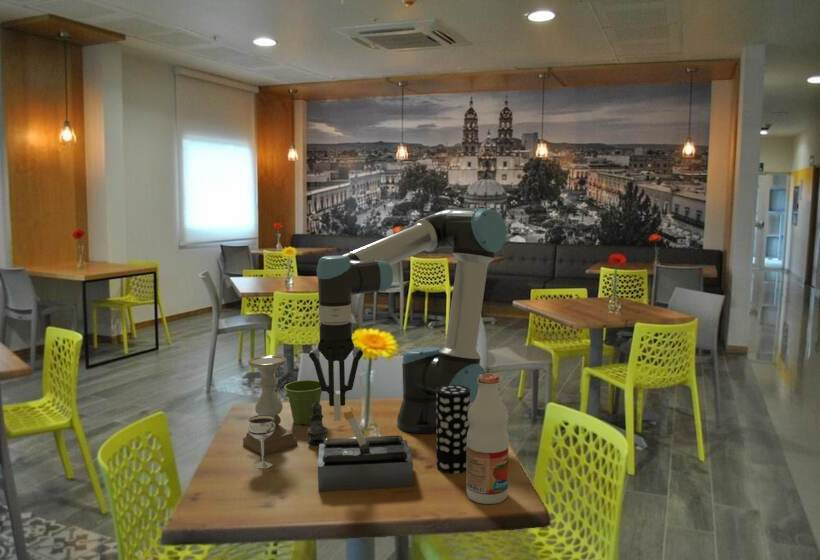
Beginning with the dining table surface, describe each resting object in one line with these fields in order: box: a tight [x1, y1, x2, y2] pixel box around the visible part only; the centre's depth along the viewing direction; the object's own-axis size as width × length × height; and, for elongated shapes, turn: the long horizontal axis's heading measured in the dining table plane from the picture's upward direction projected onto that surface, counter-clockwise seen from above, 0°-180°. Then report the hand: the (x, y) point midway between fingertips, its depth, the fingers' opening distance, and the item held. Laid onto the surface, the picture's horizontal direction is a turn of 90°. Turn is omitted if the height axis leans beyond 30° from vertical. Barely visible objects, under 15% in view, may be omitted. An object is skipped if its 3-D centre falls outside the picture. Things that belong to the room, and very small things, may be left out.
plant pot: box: [283, 379, 323, 426], centre depth 200 cm, size 12×12×11 cm
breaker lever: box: [342, 405, 370, 454], centre depth 160 cm, size 2×4×11 cm, turn 5°
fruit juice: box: [465, 373, 510, 505], centre depth 150 cm, size 9×9×28 cm
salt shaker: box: [306, 400, 329, 447], centre depth 184 cm, size 6×6×12 cm
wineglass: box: [247, 414, 275, 470], centre depth 169 cm, size 7×7×12 cm
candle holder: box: [242, 355, 298, 456], centre depth 181 cm, size 11×11×24 cm
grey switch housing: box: [317, 435, 414, 492], centre depth 162 cm, size 22×14×8 cm, turn 96°
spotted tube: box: [435, 385, 471, 474], centre depth 166 cm, size 8×8×20 cm
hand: (337, 418), depth 160 cm, fingers closed
